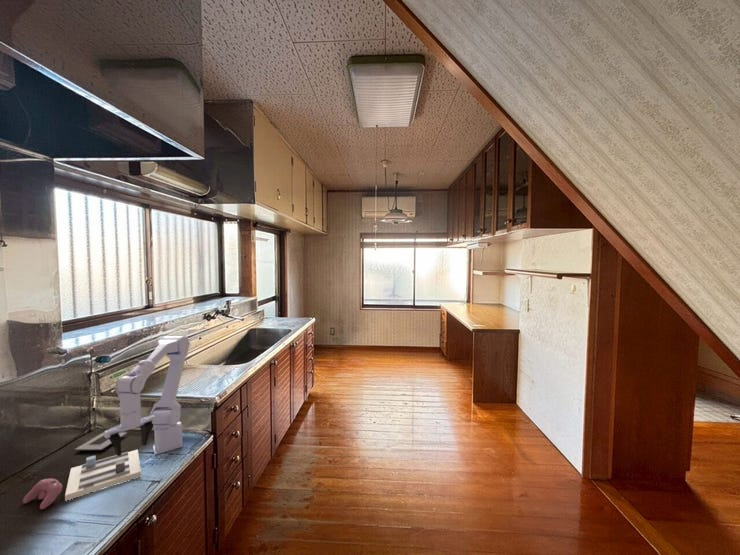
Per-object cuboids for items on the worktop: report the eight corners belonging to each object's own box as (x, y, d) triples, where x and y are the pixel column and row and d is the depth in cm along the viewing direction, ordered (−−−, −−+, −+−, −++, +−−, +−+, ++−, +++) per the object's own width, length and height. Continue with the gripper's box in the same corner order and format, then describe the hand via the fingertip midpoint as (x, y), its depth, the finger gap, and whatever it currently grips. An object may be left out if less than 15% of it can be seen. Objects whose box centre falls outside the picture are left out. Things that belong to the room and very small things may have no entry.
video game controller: (57, 507, 100) (68, 481, 103) (39, 510, 96) (52, 482, 99) (37, 501, 103) (49, 475, 106) (19, 503, 99) (32, 476, 102)
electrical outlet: (101, 454, 127) (101, 448, 127) (74, 454, 128) (74, 448, 128) (127, 437, 141) (127, 431, 140) (102, 437, 141) (102, 431, 141)
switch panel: (137, 454, 126) (137, 447, 126) (140, 477, 112) (140, 469, 112) (71, 473, 114) (71, 465, 114) (65, 501, 100) (64, 492, 100)
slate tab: (95, 463, 116) (95, 455, 116) (95, 466, 114) (95, 458, 114) (86, 466, 115) (86, 457, 115) (86, 469, 113) (86, 460, 113)
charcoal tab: (124, 467, 113) (124, 459, 113) (124, 471, 111) (124, 462, 111) (115, 470, 112) (115, 461, 112) (115, 473, 110) (115, 465, 110)
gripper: (148, 401, 122) (149, 437, 122) (100, 415, 110) (101, 456, 110) (157, 405, 118) (158, 442, 118) (108, 420, 106) (109, 462, 106)
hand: (131, 449), depth 114 cm, fingers open, 7 cm apart
